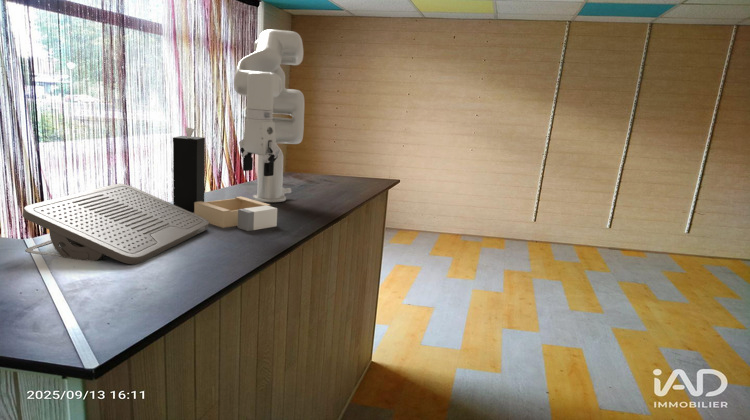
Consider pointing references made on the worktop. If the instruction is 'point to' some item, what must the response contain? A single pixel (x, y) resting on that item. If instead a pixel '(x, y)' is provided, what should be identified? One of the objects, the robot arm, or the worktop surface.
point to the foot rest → (113, 224)
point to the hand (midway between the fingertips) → (258, 173)
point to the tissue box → (188, 170)
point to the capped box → (257, 218)
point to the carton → (224, 210)
